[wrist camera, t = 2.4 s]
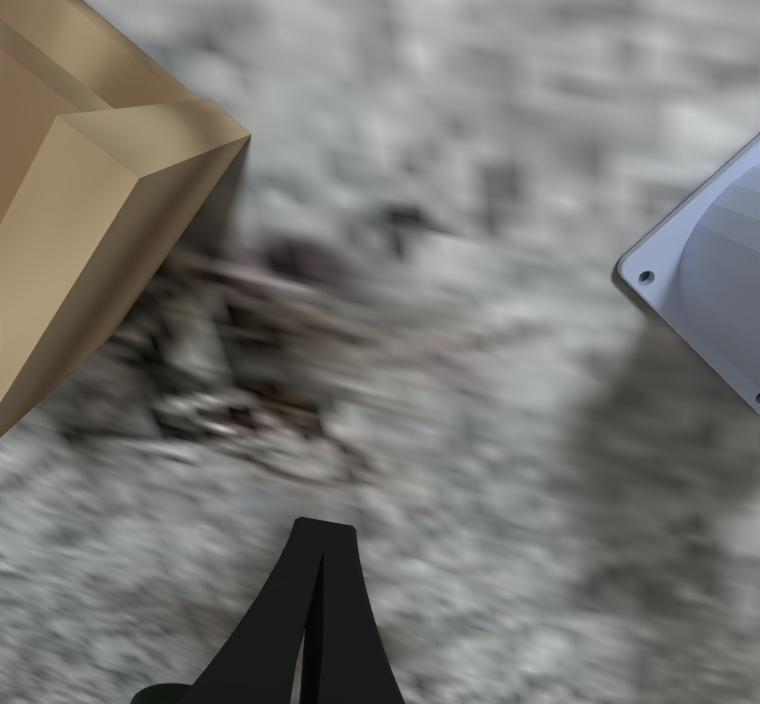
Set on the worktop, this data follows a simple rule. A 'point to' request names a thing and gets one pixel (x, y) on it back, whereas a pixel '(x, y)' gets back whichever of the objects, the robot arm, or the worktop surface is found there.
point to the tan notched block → (88, 185)
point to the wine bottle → (161, 694)
